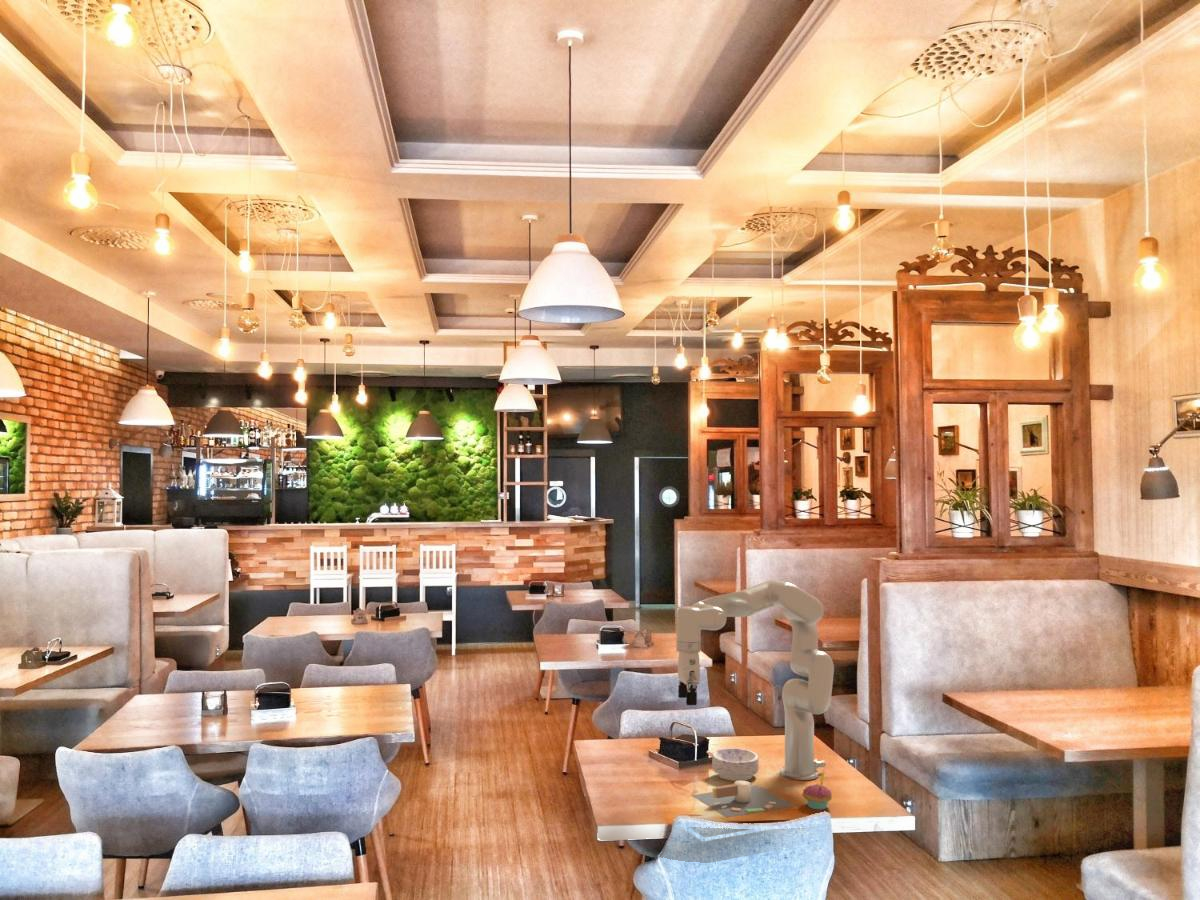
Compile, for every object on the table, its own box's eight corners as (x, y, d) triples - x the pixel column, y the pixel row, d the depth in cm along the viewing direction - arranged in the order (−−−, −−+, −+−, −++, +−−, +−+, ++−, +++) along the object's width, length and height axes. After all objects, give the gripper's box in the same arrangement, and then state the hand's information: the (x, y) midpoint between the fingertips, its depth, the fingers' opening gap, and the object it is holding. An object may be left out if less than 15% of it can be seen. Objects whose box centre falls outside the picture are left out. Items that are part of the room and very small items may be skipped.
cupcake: (827, 804, 281) (827, 764, 281) (835, 814, 272) (835, 773, 273) (799, 804, 281) (799, 764, 281) (806, 814, 272) (806, 773, 273)
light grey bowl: (726, 788, 295) (726, 763, 295) (703, 774, 309) (704, 750, 309) (767, 783, 300) (767, 758, 301) (743, 769, 315) (743, 745, 315)
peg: (744, 796, 284) (744, 779, 284) (753, 801, 280) (754, 784, 280) (708, 801, 279) (708, 785, 279) (717, 807, 274) (717, 790, 275)
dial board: (756, 788, 295) (756, 783, 295) (795, 809, 277) (795, 804, 277) (691, 798, 285) (691, 794, 285) (726, 820, 267) (726, 816, 267)
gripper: (707, 651, 282) (706, 707, 282) (692, 641, 299) (691, 694, 299) (683, 651, 281) (682, 708, 281) (670, 641, 298) (669, 695, 298)
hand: (687, 701), depth 290 cm, fingers open, 9 cm apart
